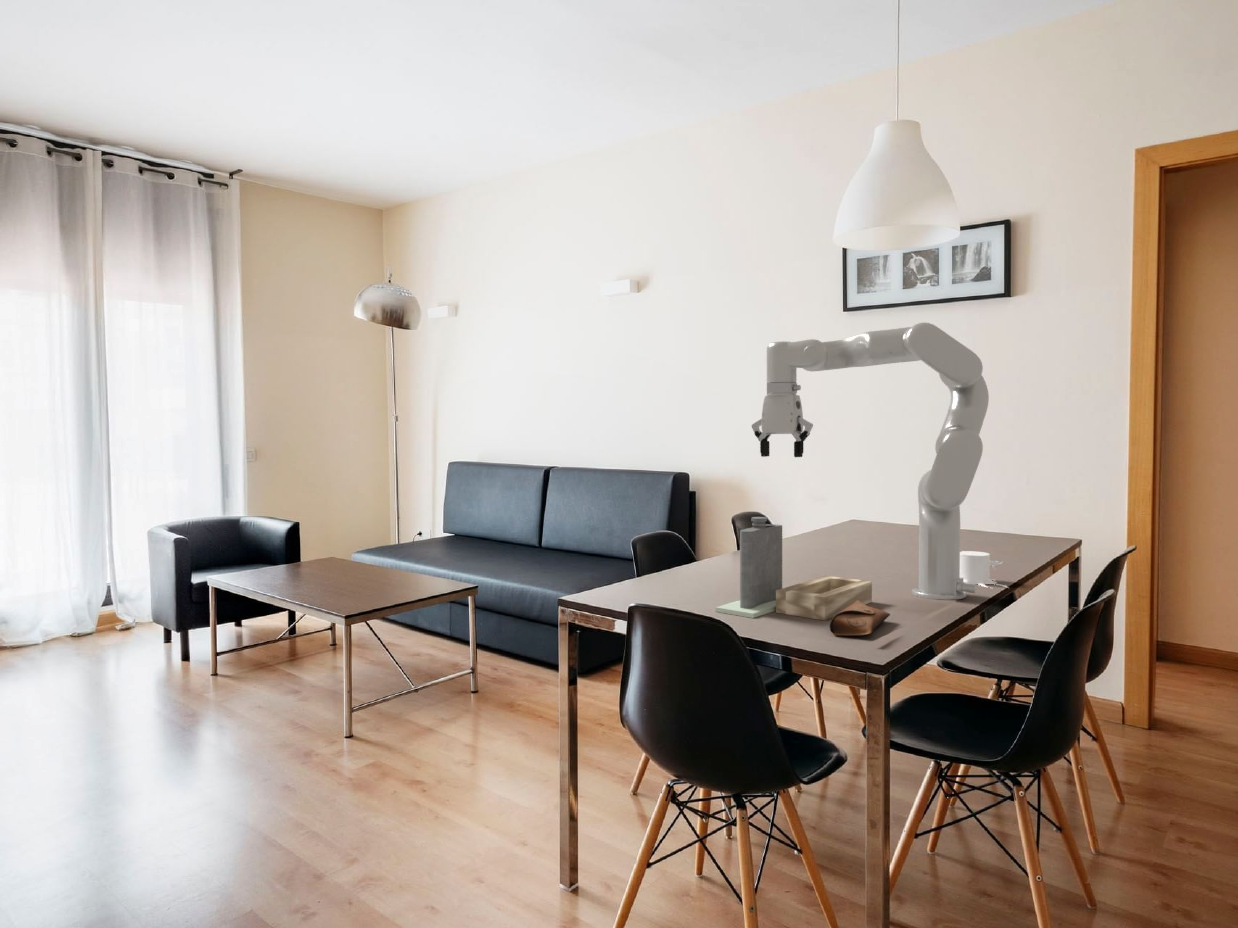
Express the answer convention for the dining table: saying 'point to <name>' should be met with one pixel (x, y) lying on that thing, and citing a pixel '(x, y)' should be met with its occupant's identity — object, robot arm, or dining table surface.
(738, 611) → the mat
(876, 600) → the dining table surface
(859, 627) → the sunglasses case
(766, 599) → the hip flask
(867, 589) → the beige open box
